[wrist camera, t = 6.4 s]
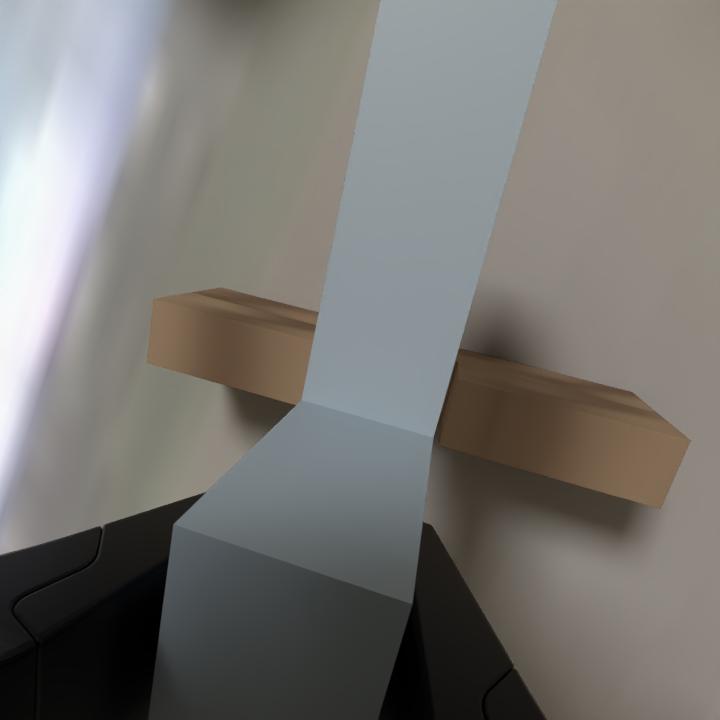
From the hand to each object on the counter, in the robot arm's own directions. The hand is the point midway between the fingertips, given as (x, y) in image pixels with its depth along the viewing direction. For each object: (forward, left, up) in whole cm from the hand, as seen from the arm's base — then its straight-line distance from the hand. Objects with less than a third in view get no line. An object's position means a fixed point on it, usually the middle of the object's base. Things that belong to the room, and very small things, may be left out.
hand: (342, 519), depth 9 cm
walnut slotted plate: (0, 0, -12) cm, 12 cm away
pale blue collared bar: (0, 0, -5) cm, 5 cm away
